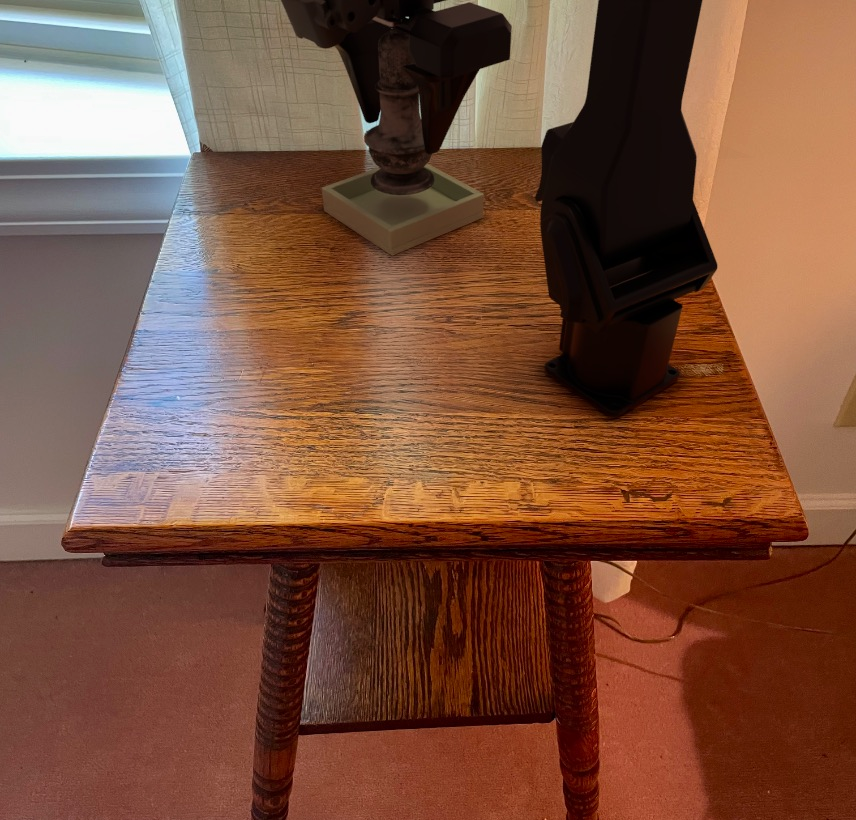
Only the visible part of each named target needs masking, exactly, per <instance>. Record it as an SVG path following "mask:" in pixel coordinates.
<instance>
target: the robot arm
mask: <svg viewBox="0 0 856 820" xmlns="http://www.w3.org/2000/svg"><path fill="white" fill-rule="evenodd" d="M280 1H281V4H282V6H283V9H284V11H285V13H286V16H287V18H288V20H289V22H290V25H291V27H292V29H293V33H294V34H295V36H296V37H297V38H299V39H305V40H308V41H310V42H312V43H314V44H315V45H316V46H317V47H318V48H320V49H325V50H326V49H332V48H335V49H336V50H337V51H338V54H339V56H340V59H341V61H342V63H343V65H344V67H345V68H344V69H345V71H346V73H347V75H348V78H349V80H350V85H351V86H352V89H353V92H354V94H355V97H356V101H357V103H358V106H359V108H360V111H361V113H362V116H363V119H364V121H365V123H367V124H373V123H375V122H376V123H377V122H379V120H380V113H381V109H380V92H378V91H377V90H376V89H375V84H376V83H377V82H378V81H379V80H380V73H379V54H378V42H379V40H380V38H381V36H382V35H384V34H385V33H387V32H389V31H390V30H391V29H394V30H397V31H399V32H402V33H404V34H407V35H409V52H410V54H411V56H412V58H413V60H414V62H415V63H411V64H408V65H405V66H403V69H404V71H405V72H406V73H407V74H408V75H409V76H410V77H411V78H412V79H413V80H414V81H415V82H416V83H417V85H418V89H419V113H420V118H421V123H422V135H423V141H424V147H425V152H426V153H427V154H429V155H431V154H432V155H435V154H436V153H438V152H439V151H440V150H441V147H442V145H443V143H444V141H445V139H446V137H447V134H448V132H449V130H450V128H451V126H452V123H454V122H453V121H454V119H455V117H456V115H457V113H458V111H459V108H460V106H461V105H462V102H463V100H464V98H465V96H466V94H467V93H468V90H469V89H470V88H471V85H472V84H473V82H474V80H475V78H476V77H477V75H478V73H479V72H480V70H482V69H485V68H488V67H491V66H494V65H498V64H500V63H503V62H507V61H510V60H511V51H512V50H511V47H512V32H513V31H512V30H513V29H512V28H513V26H512V24H511V23H510V21H509V20H508V19H507V18H506V16H505V15H504V13H502V12H499V11H496V10H494V9H490V8H487V7H485V6H482V5H479V4H477V3H473V2H470V1H469V2H464V3H462V4H461V3H460V4H458V5H454V6H450V7H447V8H442V9H439V10H435V9H434V8H435V6H434V5H435V4H438V3H443V2H445V1H447V0H280ZM703 1H704V0H597V8H596V17H595V23H594V24H595V26H594V32H593V41H592V48H591V49H592V50H591V55H590V56H591V57H590V65H589V72H588V73H589V74H588V80H587V81H588V82H587V89H586V96H585V100H584V104H583V105H582V107H581V109H580V111H579V112H578V114H577V115H576V117H575V119H574V120H573V121H572V122H568V123H565V124H561V125H559V126H555V127H551V128H549V129H547V130H546V131H545V134H544V137H543V140H542V143H541V150H540V151H541V155H540V156H541V157H540V158H541V171H540V172H541V174H540V179H539V180H540V181H539V186H538V188H537V191H536V193H535V196H534V199H535V201H536V203H539V202H541V205H540V214H539V215H540V216H539V219H540V220H539V227H540V238H541V245H542V253H543V261H544V268H545V277H546V284H547V292H548V297H549V299H550V300H552V301H553V302H554V303H556V304H557V305H558V306H559V309H560V318H562V322H561V327H560V337H559V344H558V350H559V352H560V353H561V354H559V355H557V356H556V357H553V358H551V359H550V360H548V361H546V363H545V364H544V368H543V369H544V370H543V371H544V373H545V374H546V375H548V376H550V377H551V378H552V379H554V380H555V381H557V382H559V383H560V384H562V385H563V386H564V387H566V388H567V389H569V390H570V391H572V392H573V393H575V394H576V395H578V396H579V397H581V398H582V399H584V400H585V401H587V402H588V403H590V404H591V405H593V406H594V407H595V408H597V409H599V410H600V411H602V412H603V413H605V414H606V415H608V416H609V417H612V418H617V417H619V416H622V415H623V414H625V413H626V412H628V411H630V410H631V409H633V408H635V407H637V406H638V405H640V404H641V403H643V402H644V401H646V400H648V399H650V398H651V397H653V396H654V395H656V394H658V393H660V392H661V391H663V390H664V389H666V388H667V387H669V386H671V385H673V384H674V383H676V382H677V381H678V380H679V378H680V375H681V373H680V370H678V369H677V368H676V367H674V366H673V365H671V364H670V360H671V355H672V351H673V347H674V344H675V338H676V335H677V331H678V328H679V322H680V319H681V315H682V311H683V304H682V303H680V302H678V301H676V300H677V299H679V298H682V297H684V296H686V295H689V294H691V293H697V292H700V291H703V290H704V289H705V288H706V286H707V285H708V284H709V282H710V281H711V279H712V278H713V276H715V273H716V272H717V270H718V262H717V259H716V257H715V253H714V251H713V249H712V245H711V244H710V241H709V237H708V236H707V233H706V230H705V228H704V225H703V222H702V220H701V217H700V215H699V212H698V209H697V207H696V204H695V201H694V194H695V192H694V191H695V182H696V172H697V161H698V160H697V159H698V158H697V157H698V156H697V152H696V148H695V146H694V143H693V140H692V137H691V135H690V131H689V128H688V125H687V122H686V120H685V117H684V114H683V112H682V106H683V98H684V94H685V93H684V92H685V88H686V84H687V78H688V73H689V69H690V63H691V60H692V54H693V48H694V43H695V39H696V35H697V29H698V25H699V20H700V14H701V10H702V5H703Z"/></svg>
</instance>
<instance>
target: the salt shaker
mask: <svg viewBox="0 0 856 820" xmlns="http://www.w3.org/2000/svg"><path fill="white" fill-rule="evenodd" d="M378 54H379V73H380V80H379V81H378V82H377V83H376V84H375V89H376V90H377V91H378V92H380V109H381V110H380V115H379V120H378V124H377V125H375V126H373V127H371V128H370V129H368V130H367V131H366V132H365V133H364V135H363V142H364V143H365V145H366V146H367V147H368V153H369V155H370V157H371V159H372V161H373V163H374V164H375V165H376V166H377V168H378V167H379V168H381V169H379V170H378V171H376V172H375V173H374V174H373V175H372V177H371V185H372V186H373V188H375V189H376V190H378V191H380V192H383V193H386V194H391V195H411V194H417V193H420V192H423V191H425V190H427V189H429V188H430V187H431V186H432V185H433V183H434V181H435V179H434V175H433V174H432V173H431V172H430V171H429V170H427V169H426V168H424V166H425V165H426V164H429V162H430V161H431V158H432V156H433V154H431V155H429V154H427V153H426V152H425V147H424V141H423V135H422V123H421V112H420V100H419V89H418V85H417V83H416V82H415V81H414V80H413V79H412V78H411V77H410V76H409V75H408V74H407V73H406V72H405V71H404V69H403V66H405V65H408V64H411V63H415V62H414V60H413V58H412V56H411V54H410V52H409V35H407V34H404V33H402V32H399V31H397V30H394V29H391V30H390V31H389V32H387V33H385V34H384V35H382V36H381V38H380V40H379V42H378Z"/></svg>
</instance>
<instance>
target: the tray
mask: <svg viewBox="0 0 856 820" xmlns="http://www.w3.org/2000/svg"><path fill="white" fill-rule="evenodd" d="M424 168H426V169H427V170H429V171H430V172H431V173H432V174H433V175H434V179H435V181H434V183H433V185H432V186H431V187H430V188H429V189H427V190H425V191H423V192H420V193H417V194H411V195H391V194H386V193H383V192H380V191H378V190H376V189H375V188H373V186H372V185H371V177H372V175H373V174H374V173H375V172H376V171H378V170H379V169H381V168H379V167H378V166H377V167H376V168H373V169H370V170H368V171H365V172H362V173H359V174H356V175H353V176H350V177H347V178H345V179H342V180H340V181H337V182H334V183H330V184H328V185H325V186H322V187H321V195H322V203H323V212H325V213H327V214H328V215H329V216H331V217H332V218H333V219H335V220H337V221H338V222H340V223H341V224H343V225H344V226H346V227H348V228H349V229H350V230H352V231H354V232H355V233H357V234H358V235H359V236H361V237H362V238H364V239H366V240H367V241H369V242H370V243H372V244H373V245H375V246H376V247H378V248H379V249H382V250H383V251H384V252H386V253H387V254H389V255H390V256H395V255H398V254H400V253H402V252H404V251H407V250H410V249H411V248H413V247H417V246H419V245H421V244H424V243H426V242H428V241H430V240H433V239H436V238H438V237H440V236H443V235H445V234H447V233H450V232H452V231H454V230H457V229H459V228H461V227H465V226H467V225H469V224H471V223H473V222H477V221H479V220H481V219H483V218H484V205H485V202H484V201H485V194H484V193H482V192H481V191H479V190H478V189H476V188H473V187H472V186H471V185H468V184H466V183H465V182H463V181H461V180H458V179H457V178H455V177H454V176H451V175H450V174H447V173H446V172H445V171H442V170H440V169H438V168H437V167H434V166H433V165H431V164H429V163H427V164H426V165H425V166H424Z"/></svg>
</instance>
